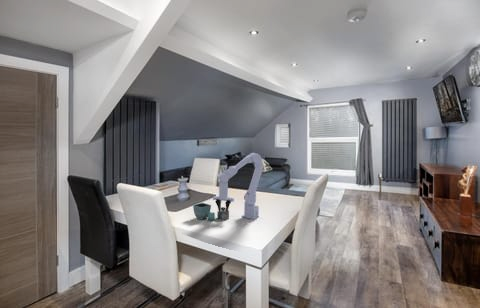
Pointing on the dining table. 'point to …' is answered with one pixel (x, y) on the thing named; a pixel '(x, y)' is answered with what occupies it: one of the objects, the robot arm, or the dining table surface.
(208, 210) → the flower pot
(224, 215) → the press pot
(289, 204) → the dining table surface
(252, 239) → the dining table surface
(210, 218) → the teal rounded part
